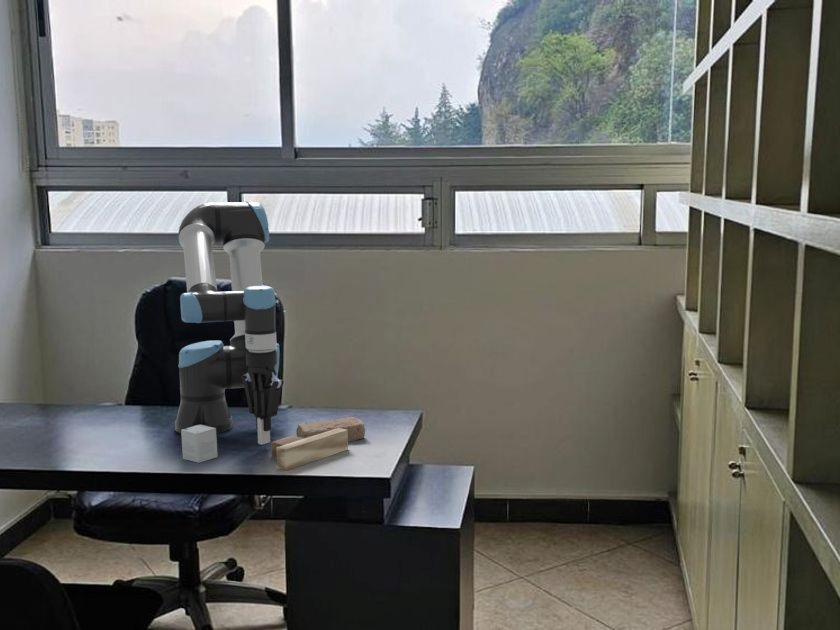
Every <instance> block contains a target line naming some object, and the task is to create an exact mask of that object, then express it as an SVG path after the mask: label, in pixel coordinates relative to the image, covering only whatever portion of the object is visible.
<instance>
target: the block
mask: <svg viewBox="0 0 840 630" xmlns="http://www.w3.org/2000/svg"><path fill="white" fill-rule="evenodd" d="M302 439H305V438H301V437H297V436H296V435H288V436H285V437H282V438H281V439H280V438H279V439H276V440H273V441H270V448H271V449H270V452H271V453H270V454H271V458H272V459H273V458H274V459H277V453H276V447H279V446H282V445H286V444H289V443H292V442H295V441H298V440H302Z"/></svg>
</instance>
